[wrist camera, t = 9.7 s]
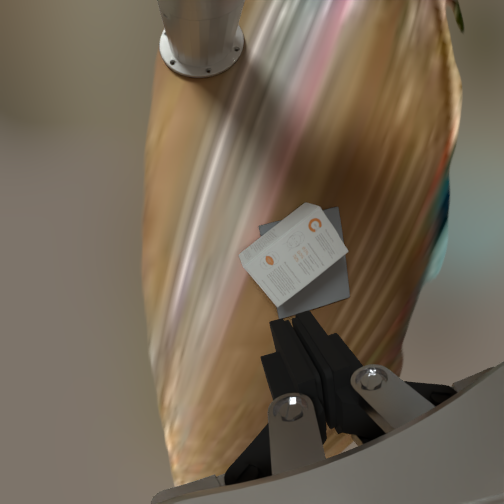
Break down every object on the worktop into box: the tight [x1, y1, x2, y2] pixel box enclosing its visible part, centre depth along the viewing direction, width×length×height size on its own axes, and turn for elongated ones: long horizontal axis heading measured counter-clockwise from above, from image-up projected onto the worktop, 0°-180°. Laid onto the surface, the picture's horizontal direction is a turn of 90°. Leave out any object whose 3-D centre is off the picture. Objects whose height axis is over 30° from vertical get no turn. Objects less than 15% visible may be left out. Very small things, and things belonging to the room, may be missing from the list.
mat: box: [259, 207, 350, 319], centre depth 47 cm, size 16×13×1 cm
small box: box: [239, 202, 348, 307], centre depth 42 cm, size 8×6×13 cm
